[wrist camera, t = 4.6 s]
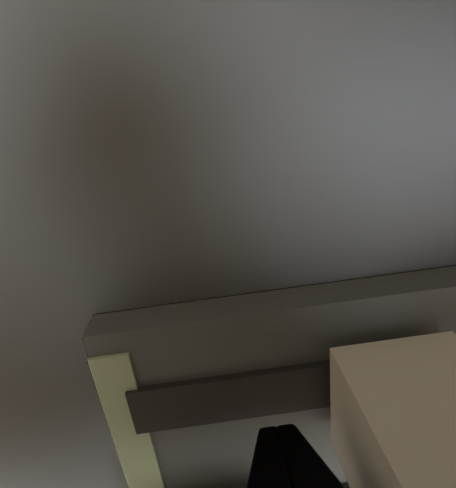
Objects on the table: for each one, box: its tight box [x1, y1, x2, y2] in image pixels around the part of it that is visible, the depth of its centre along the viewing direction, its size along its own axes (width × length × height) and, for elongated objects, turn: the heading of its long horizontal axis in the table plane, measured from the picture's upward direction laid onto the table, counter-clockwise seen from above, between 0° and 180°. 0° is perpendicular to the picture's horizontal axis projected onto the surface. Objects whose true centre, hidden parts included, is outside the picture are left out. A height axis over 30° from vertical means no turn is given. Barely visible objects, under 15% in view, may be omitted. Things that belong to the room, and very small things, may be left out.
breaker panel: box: [82, 266, 456, 488], centre depth 11 cm, size 11×10×1 cm
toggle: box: [330, 331, 456, 488], centre depth 8 cm, size 3×3×4 cm
